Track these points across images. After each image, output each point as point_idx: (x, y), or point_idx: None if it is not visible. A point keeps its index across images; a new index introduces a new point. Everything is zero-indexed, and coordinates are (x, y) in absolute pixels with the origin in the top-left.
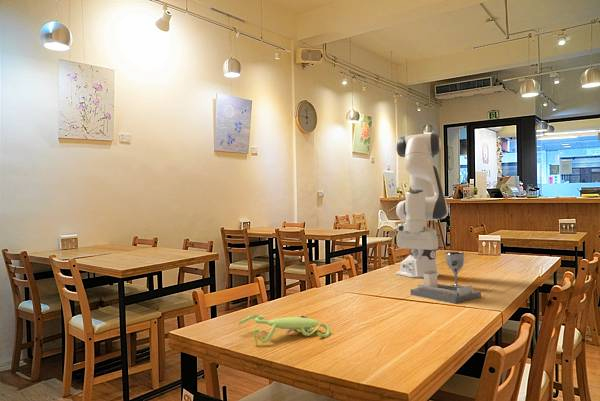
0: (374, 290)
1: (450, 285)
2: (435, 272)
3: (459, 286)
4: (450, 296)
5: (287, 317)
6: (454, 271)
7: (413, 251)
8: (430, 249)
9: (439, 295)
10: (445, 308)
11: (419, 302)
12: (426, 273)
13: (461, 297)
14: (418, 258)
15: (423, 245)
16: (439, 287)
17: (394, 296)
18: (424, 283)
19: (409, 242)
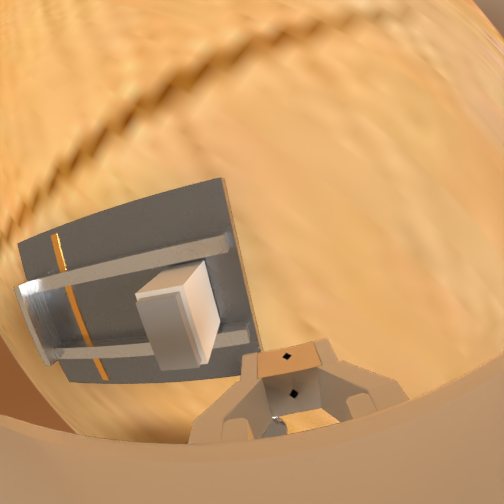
0: (398, 97)
1: (271, 425)
2: (161, 361)
3: None
4: (36, 248)
5: None
6: None
7: (362, 399)
8: (8, 416)
9: (62, 225)
10: (8, 172)
11: (85, 131)
12: (160, 295)
13: (28, 277)
14: (248, 357)
15: (51, 472)
16: None
17: (232, 89)
18: (194, 267)
19: (488, 469)
